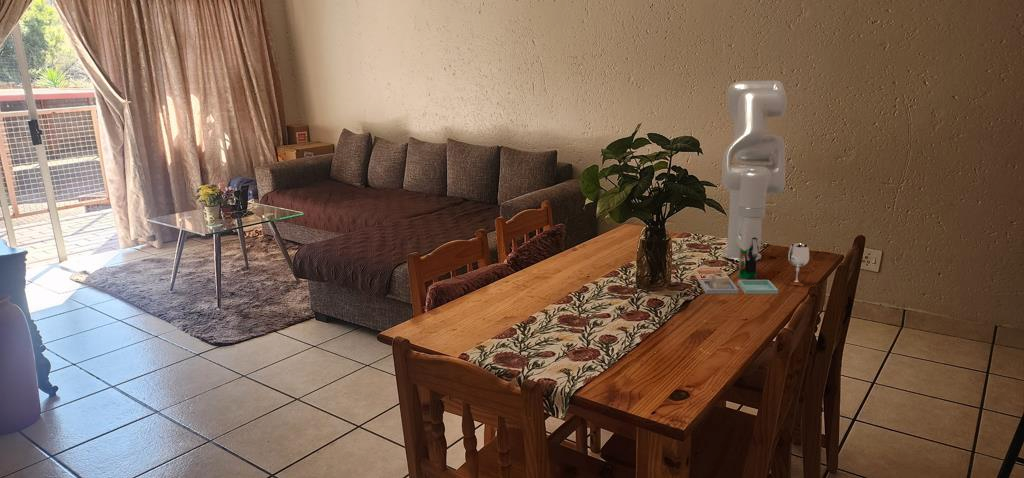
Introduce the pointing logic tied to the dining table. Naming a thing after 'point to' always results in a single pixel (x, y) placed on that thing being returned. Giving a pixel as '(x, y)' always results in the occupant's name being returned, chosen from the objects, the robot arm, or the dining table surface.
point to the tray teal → (757, 287)
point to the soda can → (742, 265)
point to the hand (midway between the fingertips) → (747, 268)
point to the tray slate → (708, 290)
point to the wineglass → (798, 256)
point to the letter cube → (719, 281)
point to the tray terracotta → (697, 272)
